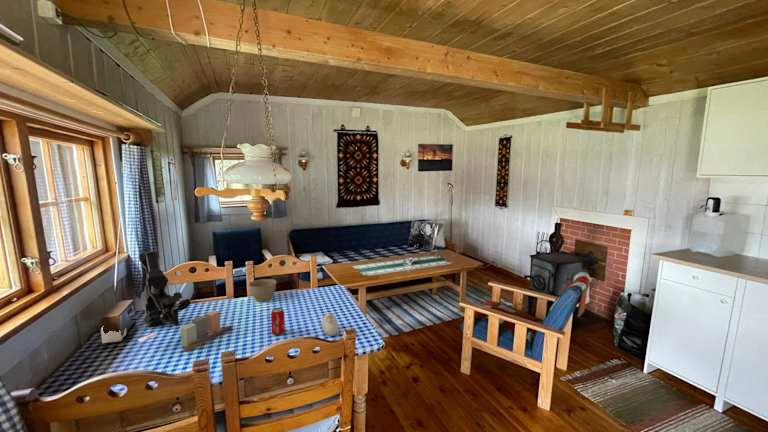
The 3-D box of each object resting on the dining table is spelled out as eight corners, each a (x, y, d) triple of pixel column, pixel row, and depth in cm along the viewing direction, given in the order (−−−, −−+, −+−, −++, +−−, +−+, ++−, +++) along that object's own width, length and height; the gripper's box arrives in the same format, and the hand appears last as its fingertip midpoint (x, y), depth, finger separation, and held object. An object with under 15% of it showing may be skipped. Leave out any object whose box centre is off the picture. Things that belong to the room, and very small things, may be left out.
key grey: (192, 337, 149) (191, 319, 148) (201, 333, 154) (200, 315, 152) (198, 339, 148) (197, 321, 147) (207, 335, 152) (206, 317, 151)
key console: (168, 347, 143) (168, 341, 142) (215, 326, 163) (214, 320, 163) (186, 354, 137) (186, 348, 137) (232, 331, 158) (231, 325, 158)
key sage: (181, 346, 142) (180, 327, 141) (191, 341, 146) (190, 322, 145) (187, 348, 140) (186, 328, 139) (197, 343, 144) (195, 324, 143)
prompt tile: (137, 340, 148) (137, 339, 148) (153, 334, 154) (153, 332, 154) (152, 347, 143) (152, 345, 143) (168, 339, 149) (168, 338, 149)
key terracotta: (206, 331, 156) (205, 313, 155) (214, 327, 160) (214, 310, 159) (212, 333, 154) (211, 315, 153) (220, 329, 158) (219, 311, 157)
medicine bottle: (126, 333, 155) (124, 310, 153) (120, 341, 148) (118, 316, 147) (108, 336, 152) (106, 312, 151) (101, 343, 145) (99, 318, 144)
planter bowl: (282, 297, 203) (281, 281, 202) (262, 306, 189) (261, 288, 188) (264, 292, 211) (263, 277, 209) (243, 301, 197) (243, 284, 195)
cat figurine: (335, 320, 151) (328, 305, 164) (320, 330, 149) (314, 314, 162) (344, 333, 154) (337, 317, 168) (330, 344, 153) (324, 327, 166)
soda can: (282, 328, 162) (281, 306, 160) (286, 333, 157) (286, 310, 155) (269, 332, 158) (269, 309, 156) (274, 337, 153) (273, 313, 151)
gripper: (145, 295, 138) (163, 324, 134) (187, 282, 154) (204, 308, 151) (136, 309, 142) (153, 337, 139) (178, 294, 159) (194, 320, 156)
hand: (177, 325), depth 146 cm, fingers closed
